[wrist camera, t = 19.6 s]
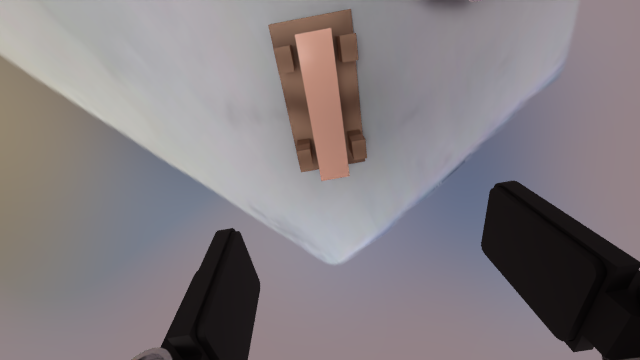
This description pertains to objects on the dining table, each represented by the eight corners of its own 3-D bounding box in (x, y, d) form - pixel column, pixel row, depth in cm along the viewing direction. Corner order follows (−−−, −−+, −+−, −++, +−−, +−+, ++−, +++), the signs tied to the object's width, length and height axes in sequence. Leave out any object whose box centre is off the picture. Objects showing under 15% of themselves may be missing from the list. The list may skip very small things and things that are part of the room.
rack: (269, 25, 29) (263, 22, 25) (349, 9, 29) (357, 4, 24) (301, 169, 37) (301, 186, 33) (363, 158, 37) (371, 174, 33)
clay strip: (295, 35, 29) (294, 34, 25) (327, 29, 29) (331, 27, 25) (319, 165, 36) (321, 180, 32) (344, 161, 36) (349, 176, 32)
